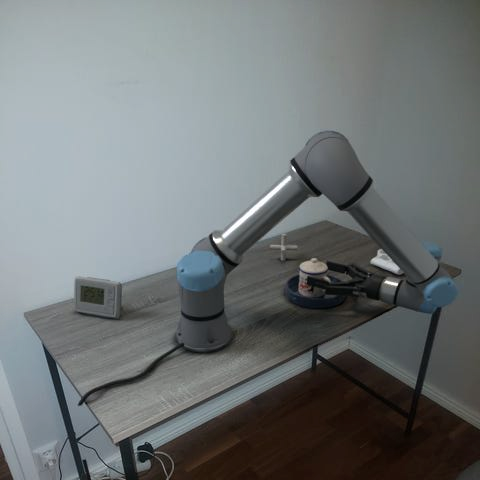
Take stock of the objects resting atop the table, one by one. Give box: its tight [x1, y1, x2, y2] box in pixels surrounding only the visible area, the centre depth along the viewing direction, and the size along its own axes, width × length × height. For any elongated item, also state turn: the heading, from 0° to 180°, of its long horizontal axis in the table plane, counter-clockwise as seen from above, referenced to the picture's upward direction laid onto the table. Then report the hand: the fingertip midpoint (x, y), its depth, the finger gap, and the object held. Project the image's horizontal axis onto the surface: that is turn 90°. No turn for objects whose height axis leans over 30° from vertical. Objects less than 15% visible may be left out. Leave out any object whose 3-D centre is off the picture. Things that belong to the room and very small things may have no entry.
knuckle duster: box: [370, 248, 404, 276], centre depth 164 cm, size 3×18×15 cm
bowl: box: [284, 273, 346, 309], centre depth 145 cm, size 19×19×3 cm
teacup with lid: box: [298, 257, 331, 298], centre depth 143 cm, size 12×9×12 cm
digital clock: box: [73, 275, 123, 319], centre depth 135 cm, size 16×9×11 cm, turn 60°
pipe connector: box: [269, 233, 298, 262], centre depth 168 cm, size 10×10×10 cm
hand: (317, 272), depth 142 cm, fingers open, 13 cm apart
